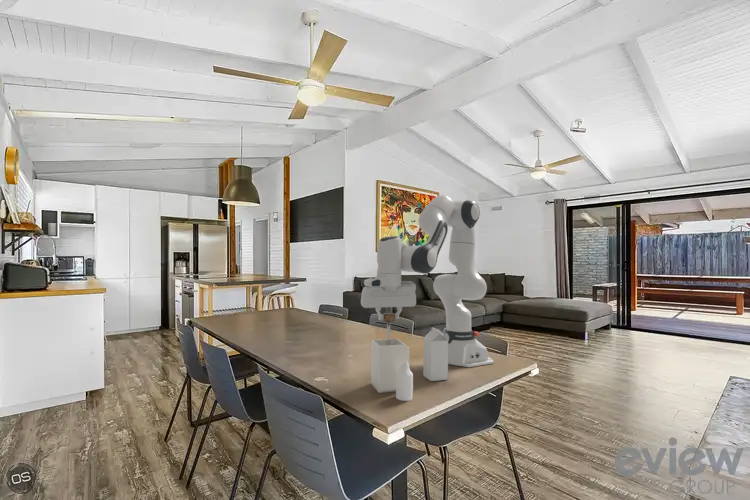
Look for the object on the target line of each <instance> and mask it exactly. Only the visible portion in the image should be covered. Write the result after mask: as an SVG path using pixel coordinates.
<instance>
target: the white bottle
mask: <svg viewBox="0 0 750 500" xmlns="http://www.w3.org/2000/svg"><path fill="white" fill-rule="evenodd" d="M413 393H414V373H413V372H412V371H411V369H410V363H409V364H408V362H405V363H403V364H402V365H401V367H400V368H399V369H398V372H397V377H396V392H395V398H396V399H397V400H398V401H403V402H408V401H409V402H411V401H412V400H413Z"/></svg>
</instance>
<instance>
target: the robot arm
mask: <svg viewBox="0 0 750 500" xmlns="http://www.w3.org/2000/svg"><path fill="white" fill-rule="evenodd" d="M480 213H481V212H480V207H479V205H478V203H477V202H476V201H474V200H468V199H467V200H454V201H453V200H452V198H450V197H449V196H447V195H444V194H440V195H437V196H436V197H435V198H433V199H432V200H431V201H429V203H427V205H426V206H425V207H424V208H423V210H422V211H421V213H420V215H419V217H418V225H419V227H420V230H421V231H422V232H423V233H425V235H428V239H427V241H426V242H425V243H423V244H421V245H406V244H404V243H403V242H402V241H401V238H400V237H399V236H396V235H391V236H384V237H382V238H380V239H379V240H378V243H377V248H376V249H377V250H376V261H377V262H376V263H377V270H376V276H373V277H369V278H367V279H364V280H363V284H364V287H363V288H362V290H361V295H360V305H361V307H362V308H364V309H375V312H376V313H377V315H378V317H377V318H378V321H383V320H384V315H383V314H382V313H381V310H382V308H396V312H395V313H394V314H395V321H397V320H399V319H400V314H401V312H402V311H403V308H405V307H406V308H408V307H410V308H411V307H416V304H417V295H416V294H417V293H416V290H417V284H416V283H415V282H414V281H412V280H402V272H406V273H407V272H408V273H418V274H423V275H424V274H426V275H427V274H430V273H431V272H432V271H433V270H434V269H435V267H436V266H437V263H438V259H439V254H440V252H441V250H442V247H443V245H444V242H445V240H446V237H447V234H448V231H449V229H448V227H449V228H451V227H452V229H451V233H450V234H451V235H450V241H449V252H448V260H449V263H450V264H451V265H454V267H455V268H456V270H457V274H456V273H455V274H454V273H445V274H440V275H437V276H436V277H435V278H434V281H433V284H432V287H433V291H434V293H435V294H436V296H438V297H439V299H440V300H441V303H442V305H443V307H444V310H445V311H444V312H445V329H444V330H445V331H444V337H445V338H446V339H447V340H448V365H451V366H459V367H465V368H472V367H479V366H484V365H485V366H487V365H493V364H494V360H493V358H491V357H489V353H488V352H489V351H488V349H487V347H486V346H484V344H482V343H481V342H480V341H479V340H477V337H479V336H480V332H479V331H475V330H472V313H471V311H470V310H469V309H468V307H467V308H466V306H465V305H464V303H463V302H462V301H463V300H464V301H465V300H466V301H476V300H482V299H483V298H484V297H485V295H486V294H487V291H488V289H487V288H488V285H487V282H486V281H485V279H484V278H483V276H481V275H480V274H479V272H478V270H477V268H476V264H475V263H476V262H475V248H476V247H475V246H476V231H475V226H476V224H477V222H478V220H479V218H480Z"/></svg>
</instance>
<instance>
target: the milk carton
mask: <svg viewBox="0 0 750 500" xmlns="http://www.w3.org/2000/svg"><path fill="white" fill-rule="evenodd" d="M422 367H423V368H422V369H423V373H422V374H423V377H424V378H426V379H427V380H428V381H430V382H436V381H447V380H449V364H448V340H447V339H446V338H445V333H443V332H442V331H441V330H440V329H437V328H435V327H431V330H430V331H429V332H428V333H427V334H426V335H425V336H424V337H423V366H422Z"/></svg>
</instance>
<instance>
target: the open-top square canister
mask: <svg viewBox="0 0 750 500" xmlns="http://www.w3.org/2000/svg"><path fill="white" fill-rule="evenodd" d="M370 341H371V342H370V343H371V346H370V348H371V349H370V385H371V386H372V387H373V388H374V389H375V390H376V392H377V393H378V394H386V393H387V394H388V393H396V377H397V372H398V369H399V368H400V367H401V365H402V364H403V363H405V362H408V364H409V365H410V346H408V345H407V344H406V343H404V341H402V340H400V339H398V338H390V345H387V338H384V339H370Z"/></svg>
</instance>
